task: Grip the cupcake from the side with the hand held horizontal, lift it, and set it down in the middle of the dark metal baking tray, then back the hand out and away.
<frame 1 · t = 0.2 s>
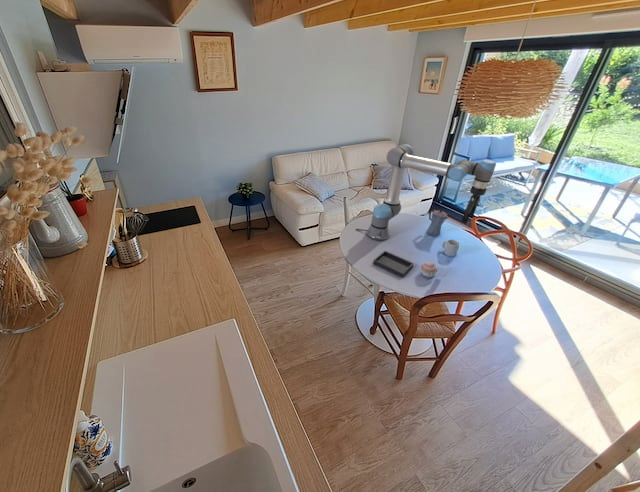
hand: (467, 218, 176), 28 cm above the table, tool pointing down, fingers open, 13 cm apart
moka pot: (432, 233, 215), on the table
cupcake: (426, 274, 173), on the table
baking tray: (392, 265, 181), on the table
cup: (447, 252, 193), on the table
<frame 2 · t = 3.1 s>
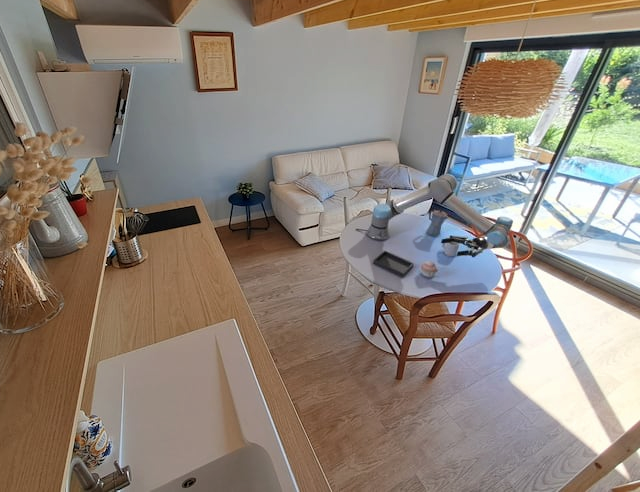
hand: (449, 247, 166), 19 cm above the table, tool horizontal, fingers open, 13 cm apart
nothing on the table moved.
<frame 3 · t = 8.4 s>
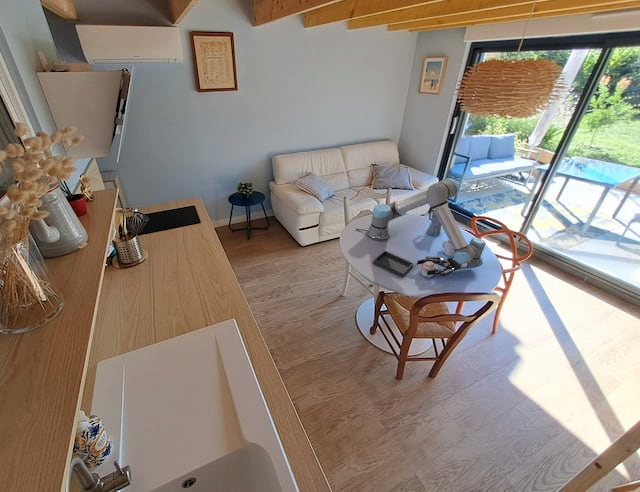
hand: (422, 267, 169), 6 cm above the table, tool horizontal, fingers closed on cupcake, 9 cm apart
cupcake: (426, 274, 173), on the table, touching gripper
everything else where it was.
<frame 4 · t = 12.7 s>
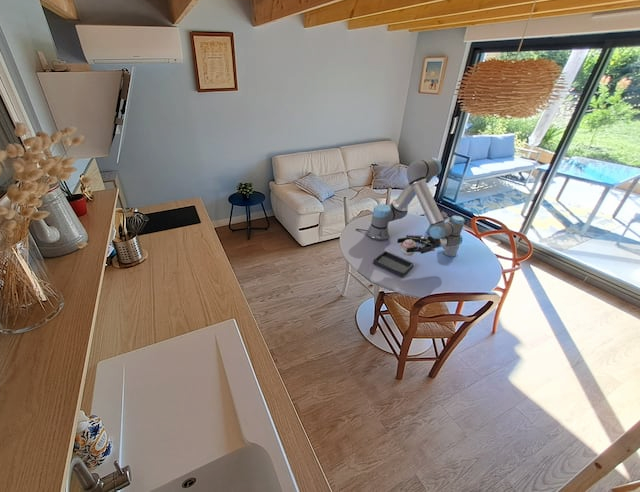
hand: (402, 245, 169), 18 cm above the table, tool horizontal, fingers closed on cupcake, 9 cm apart
cupcake: (407, 253, 173), point 12 cm above the table, touching gripper
everything else where it was.
when the fingers open (7 cm above the table, at t = 17.1 s): cupcake stays where it is, resting on baking tray.
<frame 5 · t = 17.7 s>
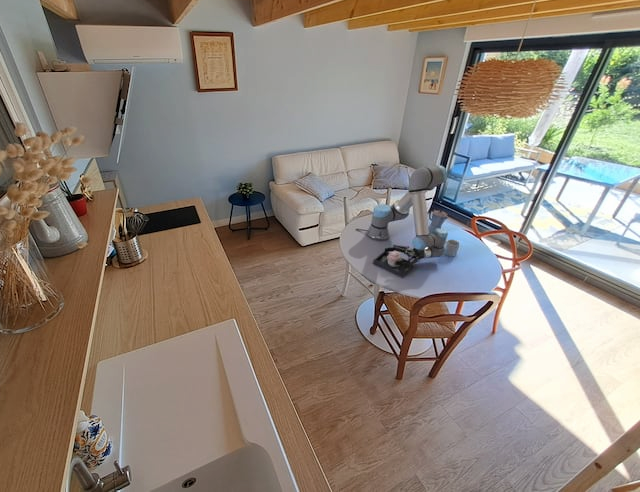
hand: (390, 256, 177), 7 cm above the table, tool horizontal, fingers open, 13 cm apart
cupcake: (393, 264, 181), point 1 cm above the table, touching baking tray
everything else where it was.
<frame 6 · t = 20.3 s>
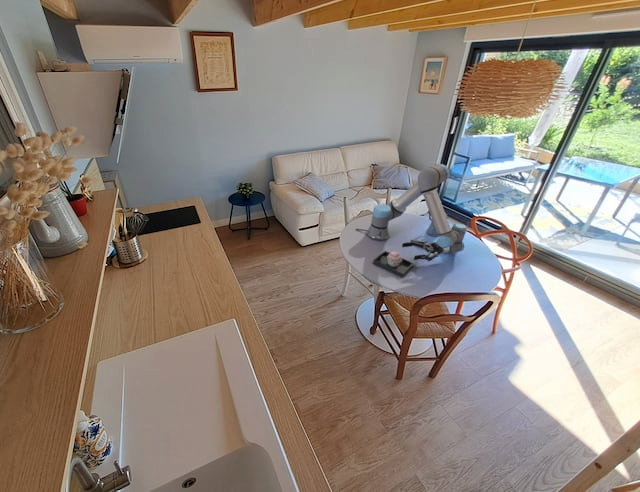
hand: (408, 251, 178), 10 cm above the table, tool horizontal, fingers open, 13 cm apart
cup: (448, 250, 192), point 1 cm above the table
everything else where it was.
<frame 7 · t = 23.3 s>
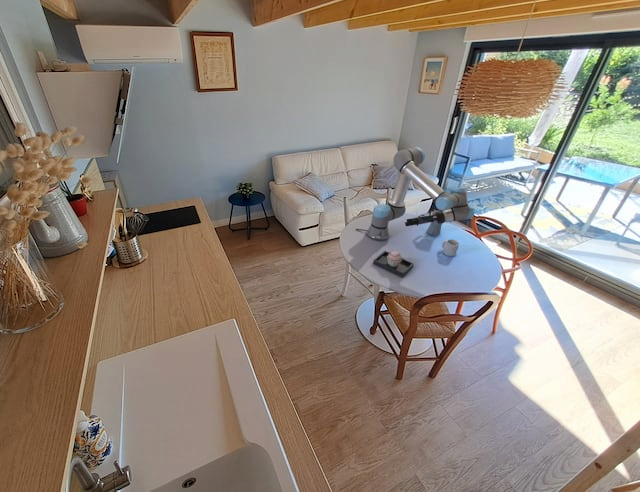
hand: (406, 223, 178), 25 cm above the table, tool tilted 70°, fingers open, 13 cm apart
cup: (447, 252, 193), on the table
everything else where it was.
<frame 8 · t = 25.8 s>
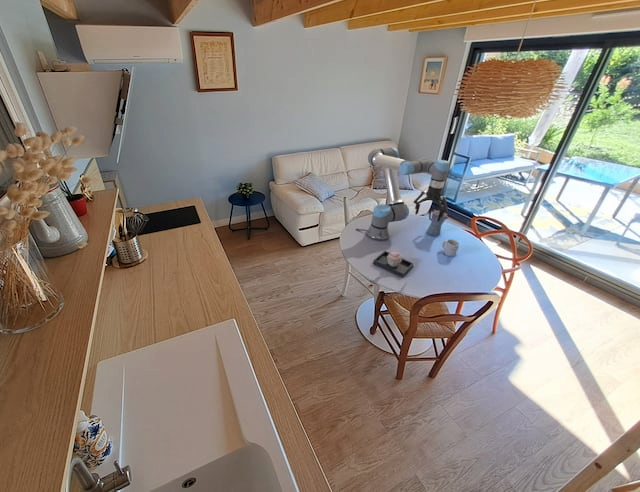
hand: (427, 217, 181), 27 cm above the table, tool pointing down, fingers open, 13 cm apart
nothing on the table moved.
at the end: cupcake inside the target area in the baking tray (0.0 cm from its centre), point 0.6 cm above the baking tray's base; cupcake tilted 0°; the gripper is holding nothing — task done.
